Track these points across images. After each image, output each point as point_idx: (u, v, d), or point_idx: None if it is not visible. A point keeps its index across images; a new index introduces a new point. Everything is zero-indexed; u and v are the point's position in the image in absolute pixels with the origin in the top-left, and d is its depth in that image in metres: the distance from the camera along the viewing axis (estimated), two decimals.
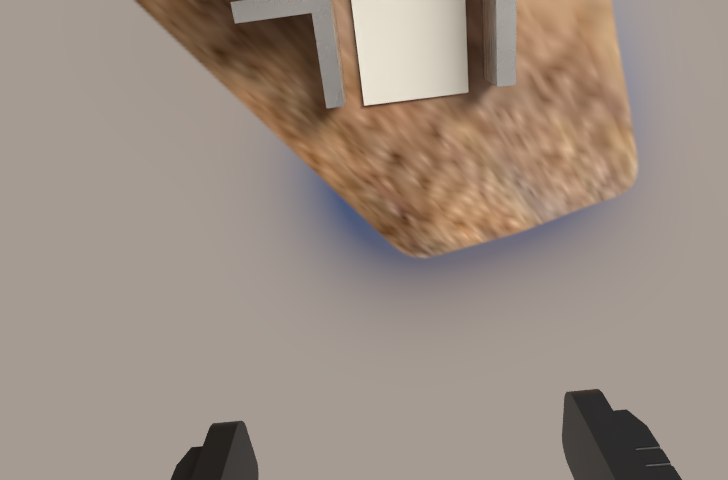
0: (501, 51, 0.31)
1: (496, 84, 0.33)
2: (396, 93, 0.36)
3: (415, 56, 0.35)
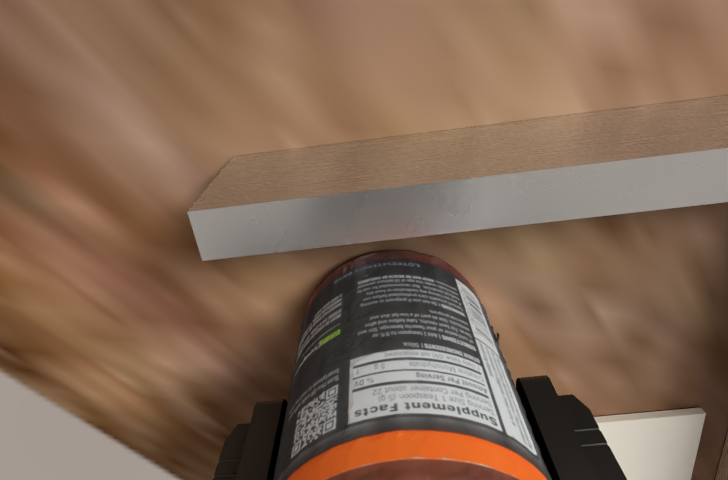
0: None
1: None
2: None
3: None
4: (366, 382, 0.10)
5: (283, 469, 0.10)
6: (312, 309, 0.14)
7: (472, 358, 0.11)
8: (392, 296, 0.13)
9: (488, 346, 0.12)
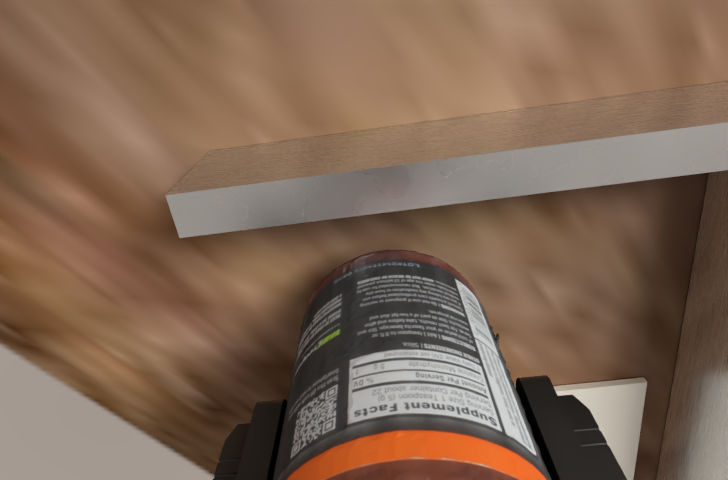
0: None
1: None
2: None
3: None
4: (365, 381, 0.10)
5: (282, 469, 0.10)
6: (312, 309, 0.14)
7: (472, 358, 0.11)
8: (392, 296, 0.13)
9: (487, 346, 0.12)
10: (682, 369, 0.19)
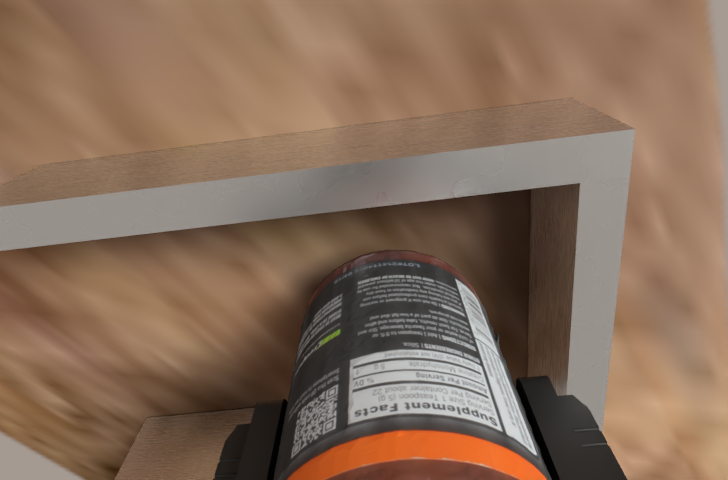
0: None
1: None
2: None
3: None
4: (366, 381, 0.10)
5: (283, 469, 0.10)
6: (312, 309, 0.14)
7: (472, 357, 0.11)
8: (392, 296, 0.13)
9: (488, 346, 0.12)
10: None
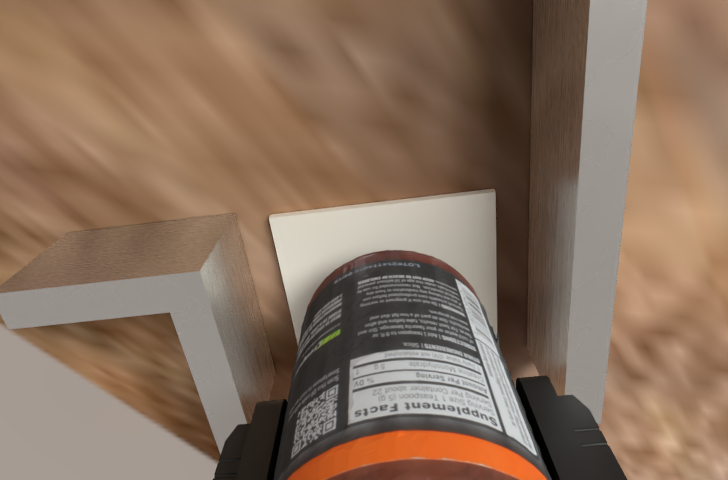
0: (575, 374, 0.15)
1: None
2: None
3: None
4: (365, 381, 0.10)
5: (283, 469, 0.10)
6: (312, 309, 0.14)
7: (472, 357, 0.11)
8: (392, 296, 0.13)
9: (488, 346, 0.12)
10: (534, 170, 0.16)
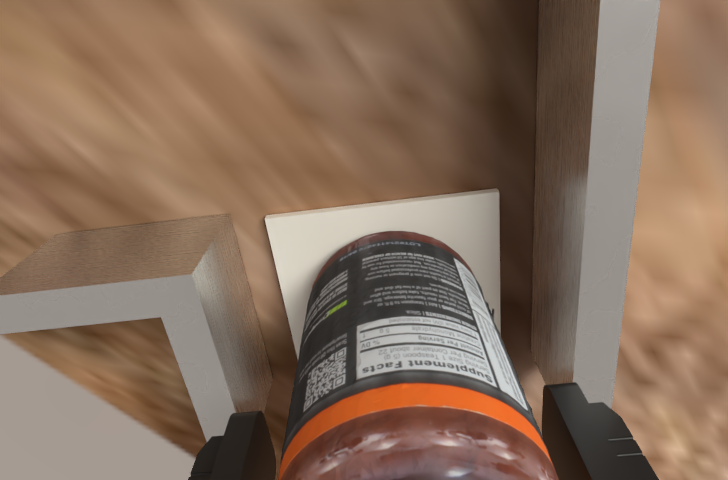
0: (582, 381, 0.14)
1: None
2: None
3: None
4: (372, 343, 0.11)
5: (296, 422, 0.11)
6: (318, 285, 0.15)
7: (470, 325, 0.12)
8: (395, 271, 0.14)
9: (484, 317, 0.13)
10: (539, 169, 0.15)
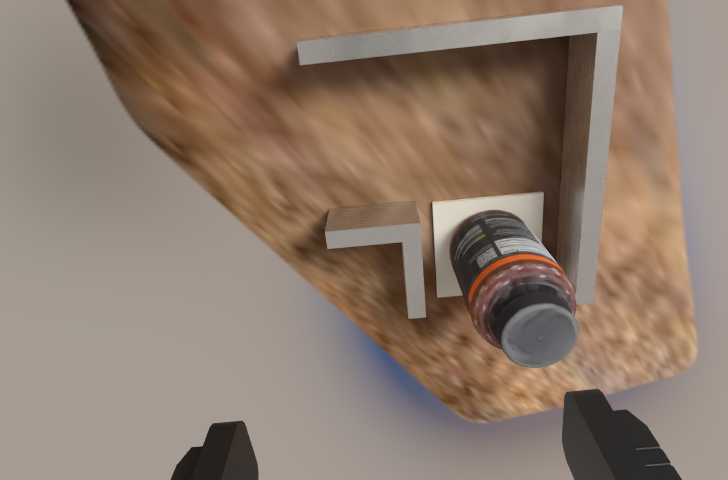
0: (581, 276, 0.33)
1: None
2: None
3: None
4: (504, 245, 0.29)
5: (477, 271, 0.29)
6: (461, 233, 0.34)
7: (537, 243, 0.30)
8: (503, 224, 0.32)
9: (541, 243, 0.31)
10: (562, 182, 0.34)
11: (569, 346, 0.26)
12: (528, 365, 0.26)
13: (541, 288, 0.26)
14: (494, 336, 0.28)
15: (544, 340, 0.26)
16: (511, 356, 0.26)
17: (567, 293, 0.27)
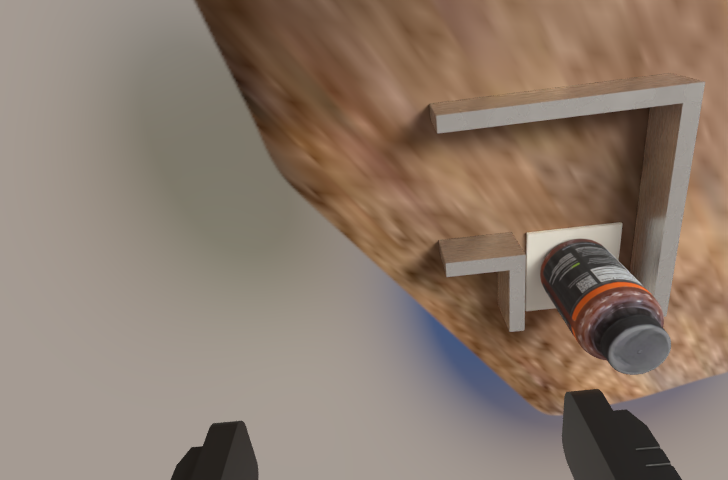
0: (658, 295, 0.39)
1: None
2: None
3: None
4: (600, 273, 0.35)
5: (580, 296, 0.35)
6: (554, 259, 0.40)
7: (626, 270, 0.37)
8: (593, 253, 0.38)
9: (626, 269, 0.38)
10: (639, 215, 0.40)
11: (662, 357, 0.32)
12: (628, 373, 0.33)
13: (639, 311, 0.33)
14: (596, 349, 0.34)
15: (643, 353, 0.32)
16: (615, 366, 0.33)
17: (658, 314, 0.33)
